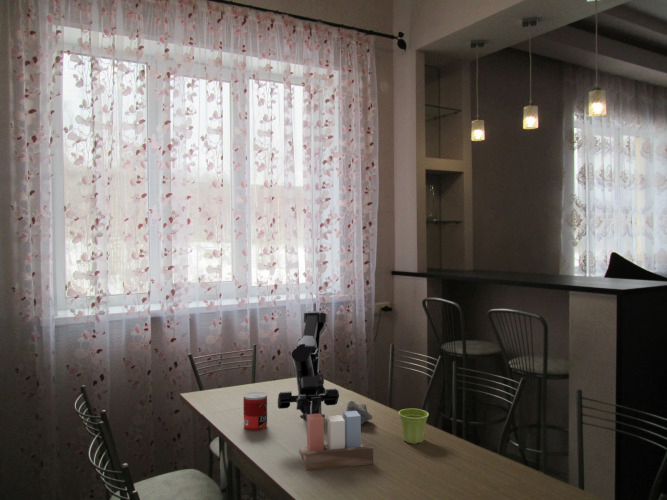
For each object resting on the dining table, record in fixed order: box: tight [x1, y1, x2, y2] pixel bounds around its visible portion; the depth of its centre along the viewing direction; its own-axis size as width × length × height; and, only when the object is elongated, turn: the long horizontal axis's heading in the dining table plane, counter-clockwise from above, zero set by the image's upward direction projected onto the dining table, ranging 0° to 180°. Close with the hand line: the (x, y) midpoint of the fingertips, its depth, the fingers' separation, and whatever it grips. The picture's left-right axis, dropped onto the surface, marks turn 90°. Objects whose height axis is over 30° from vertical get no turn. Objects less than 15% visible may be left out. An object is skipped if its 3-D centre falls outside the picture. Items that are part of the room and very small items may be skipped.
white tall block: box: [326, 414, 345, 450], centre depth 154 cm, size 5×4×10 cm
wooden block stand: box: [299, 441, 374, 471], centre depth 155 cm, size 13×19×4 cm
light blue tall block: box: [342, 411, 362, 448], centre depth 158 cm, size 5×4×10 cm
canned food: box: [243, 391, 268, 432], centre depth 182 cm, size 8×8×11 cm
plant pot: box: [398, 408, 429, 445], centre depth 169 cm, size 9×9×9 cm
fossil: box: [345, 400, 373, 425], centre depth 185 cm, size 11×9×8 cm
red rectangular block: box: [306, 413, 325, 452], centre depth 156 cm, size 5×4×10 cm
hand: (311, 423), depth 161 cm, fingers closed
